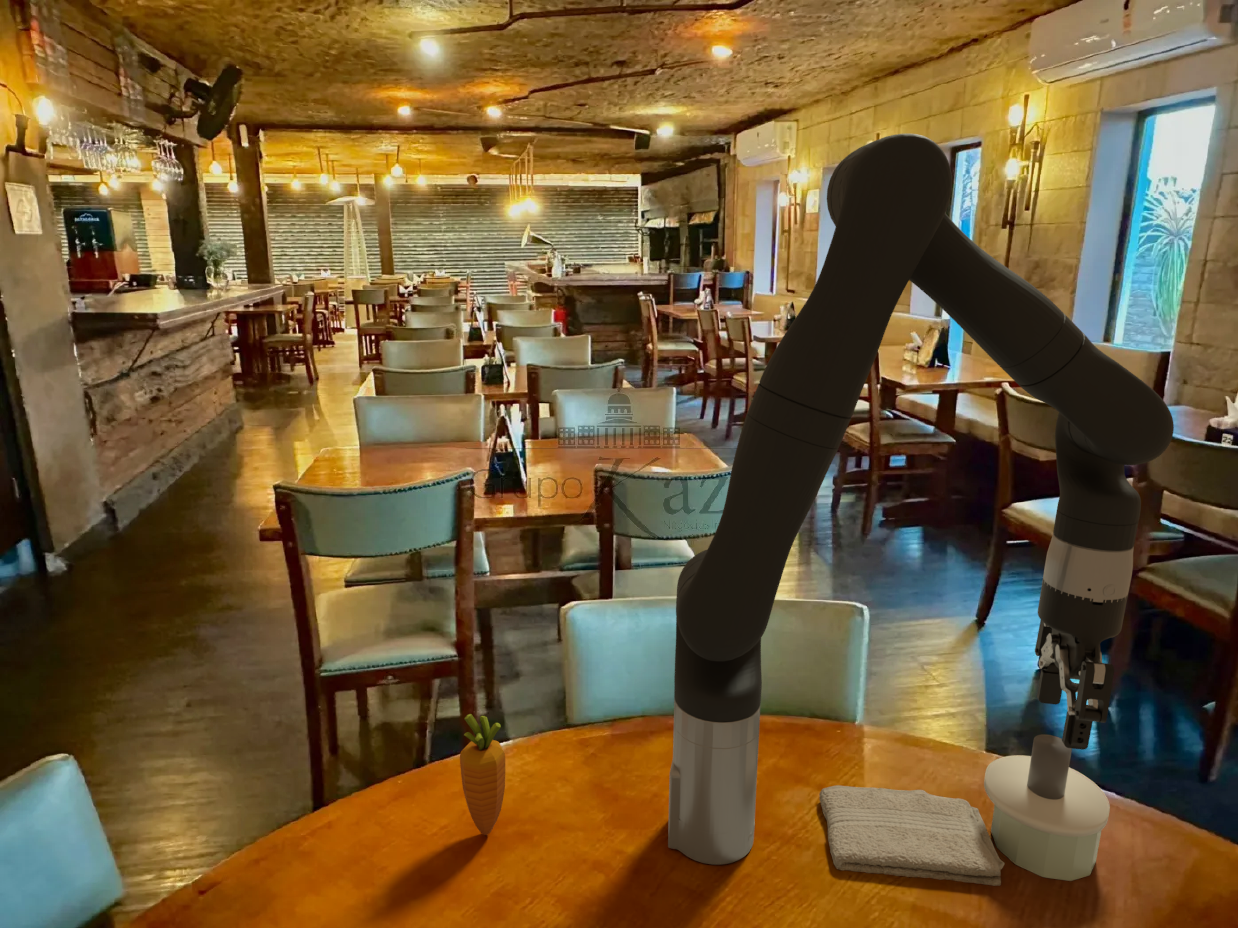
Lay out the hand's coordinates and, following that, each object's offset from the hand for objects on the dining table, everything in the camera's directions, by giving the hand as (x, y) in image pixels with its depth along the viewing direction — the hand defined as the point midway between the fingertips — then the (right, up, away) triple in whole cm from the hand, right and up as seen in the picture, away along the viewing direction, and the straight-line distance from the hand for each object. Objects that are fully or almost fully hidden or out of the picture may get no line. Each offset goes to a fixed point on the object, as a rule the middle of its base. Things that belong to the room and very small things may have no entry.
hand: (1060, 723), depth 84 cm
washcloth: (-15, -15, +5) cm, 22 cm away
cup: (0, -15, +4) cm, 15 cm away
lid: (0, -9, +2) cm, 9 cm away
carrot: (-62, -14, +5) cm, 64 cm away
